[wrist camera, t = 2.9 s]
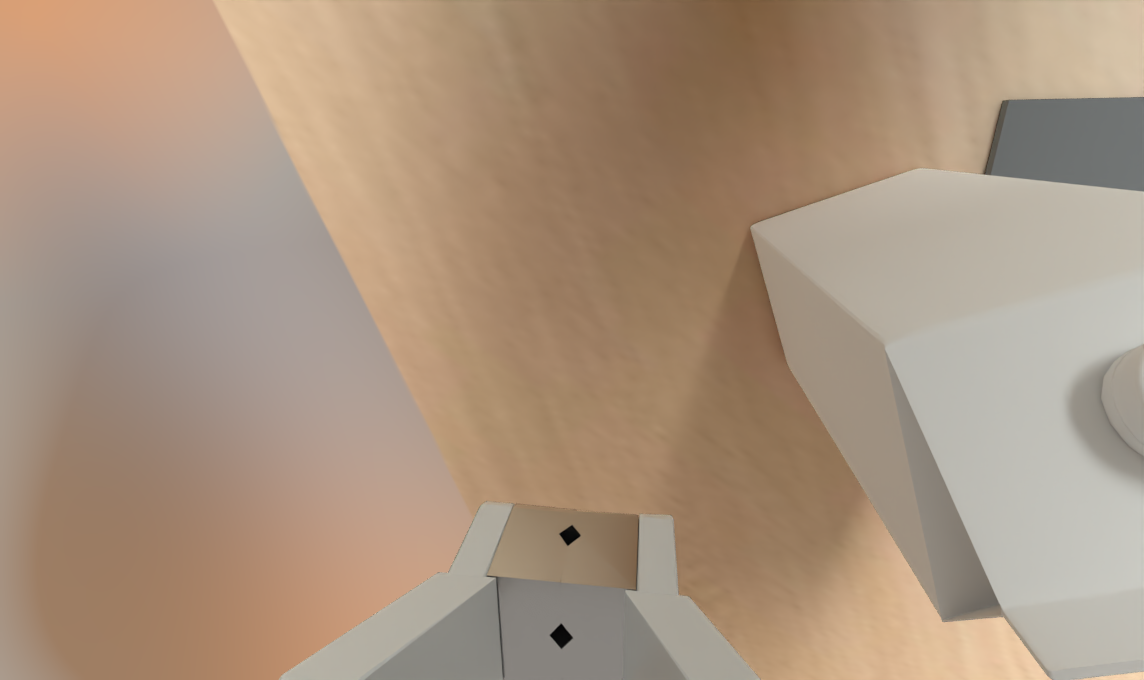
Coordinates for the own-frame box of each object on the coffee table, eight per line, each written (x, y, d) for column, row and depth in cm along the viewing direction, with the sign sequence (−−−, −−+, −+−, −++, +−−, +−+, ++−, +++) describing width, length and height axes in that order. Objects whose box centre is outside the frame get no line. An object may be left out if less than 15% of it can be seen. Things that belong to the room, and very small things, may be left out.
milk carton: (946, 320, 24) (1738, 803, 7) (786, 364, 26) (1073, 840, 8) (920, 165, 22) (1953, 267, 5) (747, 224, 24) (1020, 461, 6)
